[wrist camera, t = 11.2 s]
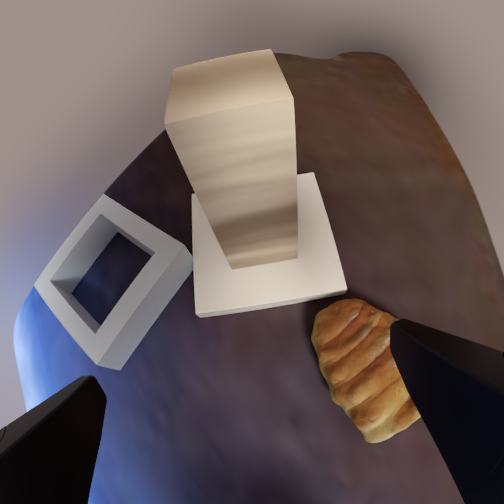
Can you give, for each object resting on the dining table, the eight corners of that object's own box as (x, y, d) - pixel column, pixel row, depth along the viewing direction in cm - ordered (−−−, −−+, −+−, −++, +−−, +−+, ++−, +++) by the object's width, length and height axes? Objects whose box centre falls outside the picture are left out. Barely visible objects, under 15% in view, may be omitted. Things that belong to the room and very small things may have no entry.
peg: (297, 258, 20) (293, 98, 9) (232, 269, 20) (163, 124, 9) (285, 204, 22) (270, 49, 11) (226, 215, 22) (173, 68, 11)
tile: (344, 294, 20) (347, 289, 19) (200, 317, 20) (195, 314, 19) (313, 180, 24) (313, 172, 23) (195, 201, 25) (191, 193, 24)
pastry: (284, 343, 19) (282, 332, 16) (360, 282, 20) (372, 259, 17) (370, 447, 15) (387, 458, 11) (441, 378, 16) (469, 372, 13)
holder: (197, 263, 22) (184, 244, 19) (120, 370, 19) (96, 365, 16) (119, 212, 26) (103, 193, 23) (55, 297, 23) (33, 285, 20)
